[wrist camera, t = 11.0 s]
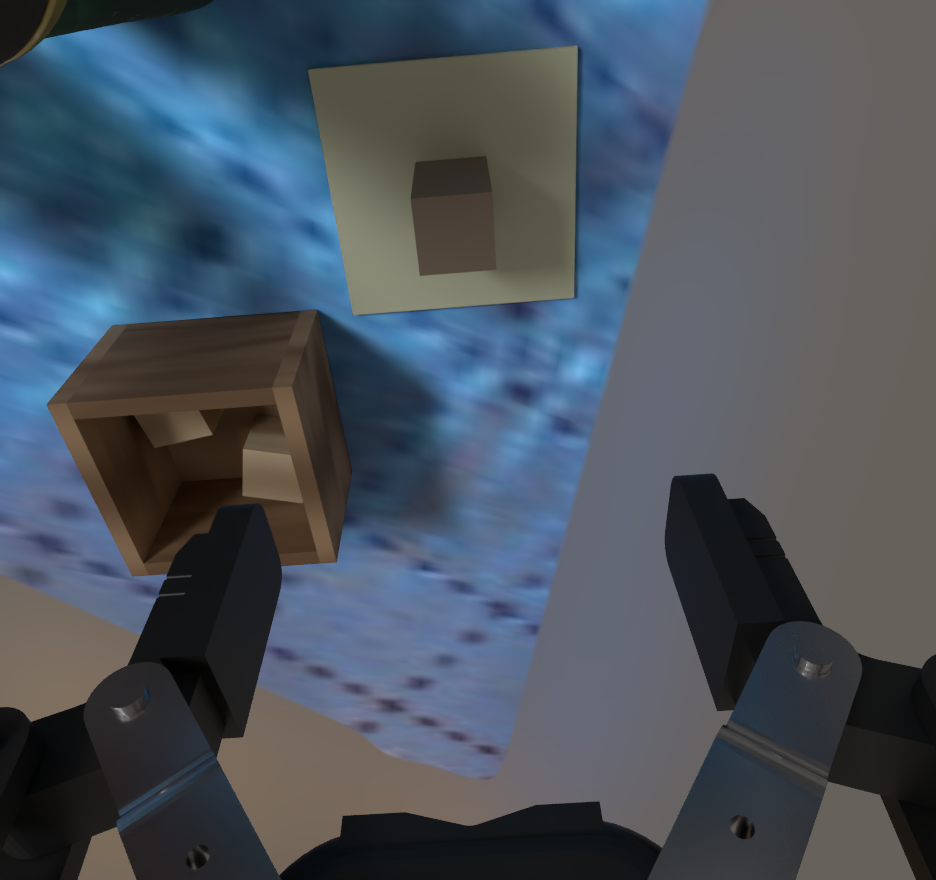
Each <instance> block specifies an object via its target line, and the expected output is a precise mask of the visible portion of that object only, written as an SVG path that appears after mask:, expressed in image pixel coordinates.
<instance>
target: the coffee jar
mask: <svg viewBox="0 0 936 880" xmlns="http://www.w3.org/2000/svg"><path fill="white" fill-rule="evenodd" d="M212 1H213V0H0V66H2V65H5V64H7V63H9V62H11V61H13V60H15V59H17V58H19V57H21V56H23V55H24V54H26V53H27V52H29V51H30V50H32V49H33V48H34V47H35V46H36V45H38V44H39V43H40V42H41V41H42V40H43V39H45V38H49V37H54V36H59V35H64V34H69V33H74V32H78V31H83V30H89V29H94V28H99V27H103V26H109V25H115V24H119V23H125V22H132V21H138V20H144V19H151V18H160V17H165V16H170V15H175V14H180V13H185V12H189V11H192V10H195V9H199V8H201V7H203V6H205V5H207V4H209V3H210V2H212Z"/></svg>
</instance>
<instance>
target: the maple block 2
mask: <svg viewBox="0 0 936 880" xmlns="http://www.w3.org/2000/svg"><path fill="white" fill-rule="evenodd" d="M242 496H248V497H256V498H264V499H272V500H280V501H288V502H296V503H303V499H302V495H301V492H300V488H299V484H298V481H297V477H296V473H295V470H294V466H293V462H292V459H291V455H290V451H289V448H288V444H287V440H286V437H285V433H284V429H283V426H282V422H281V419H280V417H273V416H266V415H259V414H256V416H255V419H254V422H253V424H252V427H251V429H250V432H249V435H248V437H247V440H246V442H245V445H244V448H243V493H242Z"/></svg>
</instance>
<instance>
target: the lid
mask: <svg viewBox="0 0 936 880" xmlns="http://www.w3.org/2000/svg"><path fill="white" fill-rule="evenodd" d="M577 62H578V46H577V45H575V46H564V47H552V48H541V49H530V50H518V51H507V52H495V53H484V54H472V55H461V56H449V57H438V58H426V59H415V60H403V61H392V62H380V63H369V64H358V65H346V66H335V67H323V68H312V69H308V74H309V79H310V84H311V90H312V95H313V101H314V106H315V112H316V117H317V122H318V128H319V133H320V139H321V144H322V149H323V155H324V160H325V166H326V171H327V176H328V182H329V187H330V193H331V198H332V203H333V209H334V214H335V220H336V225H337V230H338V236H339V241H340V247H341V252H342V258H343V263H344V268H345V274H346V279H347V285H348V290H349V295H350V301H351V306H352V312H353V315H363V314H376V313H388V312H401V311H414V310H427V309H439V308H452V307H465V306H478V305H490V304H503V303H516V302H528V301H541V300H554V299H567V298H574V268H575V199H576V131H577Z"/></svg>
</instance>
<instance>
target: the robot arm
mask: <svg viewBox="0 0 936 880" xmlns="http://www.w3.org/2000/svg"><path fill="white" fill-rule="evenodd" d="M665 550H666V557H667V562H668V565H669V568H670V571H671V574H672V577H673V580H674V583H675V586H676V589H677V592H678V595H679V598H680V601H681V604H682V607H683V610H684V613H685V616H686V619H687V622H688V625H689V628H690V631H691V634H692V637H693V640H694V643H695V646H696V649H697V652H698V655H699V658H700V661H701V664H702V667H703V670H704V673H705V676H706V679H707V682H708V684H709V688H710V691H711V694H712V697H713V700H714V703H715V706H716V709H717V711H725V710H733V712H732V715H731V717H730V719H729V721H728V723H727V724H726V726H725V725H723V726H722V727H721V728H720V730H719V732H718V733H717V735H716V737H715V739H714V741H713V743H712V745H711V748H710V750H709V752H708V754H707V756H706V758H705V760H704V762H703V764H702V767H701V769H700V771H699V773H698V775H697V777H696V779H695V781H694V783H693V785H692V787H691V790H690V791H689V794H688V796H687V798H686V800H685V802H684V804H683V806H682V808H681V810H680V813H679V815H678V817H677V819H676V821H675V823H674V825H673V827H672V829H671V831H670V833H669V835H668V837H667V839H666V842H665V844H664V846H663V848H661V847H660V846H659V845H657V844H656V843H654V842H652V841H651V840H649V839H648V838H646V837H645V836H642V835H641V834H639V833H637V832H635V831H633V830H630V829H628V828H625V827H622V826H620V825H617V824H614V823H609V822H605V821H603V820H602V815H601V808H600V803H599V802H582V803H565V804H548V805H535V806H532V807H529V808H526V809H523V810H520V811H517V812H514V813H511V814H508V815H505V816H502V817H499V818H496V819H493V820H490V821H487V822H484V823H481V824H478V825H474V826H466V825H465V826H464V825H460V824H456V823H451V822H446V821H442V820H438V819H433V818H428V817H424V816H419V815H415V814H410V813H386V814H370V815H352V816H343V818H342V826H341V835H340V837H337V838H334V839H331V840H329V841H327V842H325V843H323V844H321V845H319V846H317V847H315V848H313V849H312V850H310V851H309V852H307V853H306V854H304V855H303V856H301V857H300V858H299V859H297V860H296V861H295V862H294V863H292V864H291V865H290V866H289V867H287V868H286V869H285V871H283V872H282V873H281V874H280V875H279V874H278V873H277V871H276V869H275V867H274V865H273V863H272V861H271V860H270V858H269V856H268V854H267V852H266V850H265V848H264V847H263V845H262V843H261V841H260V839H259V837H258V835H257V833H256V831H255V830H254V828H253V826H252V824H251V822H250V820H249V818H248V816H247V815H246V813H245V811H244V809H243V807H242V805H241V803H240V801H239V800H238V798H237V796H236V794H235V792H234V791H233V788H232V787H231V785H230V783H229V781H228V779H227V777H226V775H225V773H224V772H223V770H222V768H221V766H220V764H219V762H218V760H217V754H218V751H219V747H220V743H221V740H222V738H238V737H243V735H244V731H245V727H246V724H247V720H248V716H249V712H250V708H251V704H252V700H253V696H254V692H255V688H256V684H257V680H258V676H259V672H260V668H261V664H262V660H263V656H264V652H265V648H266V644H267V640H268V636H269V633H270V629H271V625H272V621H273V617H274V613H275V609H276V605H277V601H278V597H279V593H280V589H281V581H282V569H281V561H280V557H279V554H278V551H277V547H276V544H275V541H274V538H273V535H272V532H271V529H270V526H269V523H268V520H267V517H266V514H265V511H264V508H263V507H262V505H261V504H259V503H257V504H242V505H228V506H221V507H220V508H219V509H218V510H217V512H216V515H215V517H214V520H213V523H212V525H211V528H210V530H209V533H201V534H194V535H193V536H192V537H191V538H190V539H189V540H188V542H187V543H186V544H185V545H184V546H183V547H182V548H181V549H180V550H179V551H178V552H177V553H176V555H175V557H174V559H173V562H172V564H171V566H170V569H169V571H168V573H167V580H164V583H163V585H162V587H161V590H160V592H159V598H157V599H156V601H155V603H154V606H153V608H152V610H151V613H150V615H149V617H148V620H147V622H146V624H145V627H144V629H143V631H142V634H141V636H140V638H139V641H138V643H137V645H136V648H135V650H134V652H133V655H132V657H131V659H130V662H129V663H128V665H127V666H126V667H123V668H121V669H119V670H117V671H116V672H114V673H112V674H111V675H109V676H108V677H107V678H106V679H104V680H103V681H102V682H101V683H100V684H99V685H98V686H97V687H96V688H95V689H94V691H93V692H92V693H91V695H90V697H89V698H88V700H87V702H86V703H84V704H82V705H79V706H77V707H74V708H71V709H68V710H65V711H62V712H59V713H56V714H53V715H50V716H47V717H44V718H41V719H38V720H36V721H33V722H30V720H29V719H28V718H27V717H26V715H25V714H24V713H23V712H22V711H20V710H18V709H15V708H10V707H0V880H77V879H78V876H79V873H80V870H81V867H82V864H83V861H84V858H85V855H86V852H87V849H88V846H89V843H90V840H91V837H92V836H94V835H97V834H99V833H102V832H104V831H107V830H110V829H112V828H115V827H117V828H118V832H119V834H120V837H121V840H122V842H123V845H124V848H125V850H126V853H127V856H128V859H129V861H130V864H131V867H132V869H133V872H134V875H135V877H136V880H796V877H797V874H798V870H799V868H800V864H801V862H802V859H803V856H804V853H805V850H806V847H807V843H808V841H809V837H810V835H811V832H812V829H813V826H814V823H815V820H816V817H817V814H818V811H819V808H820V805H821V802H822V799H823V796H824V793H825V790H826V786H827V783H828V782H832V783H836V784H840V785H844V786H848V787H851V788H855V789H859V790H864V791H867V792H871V793H875V794H879V795H880V796H881V798H882V800H883V803H884V805H885V807H886V810H887V812H888V815H889V817H890V820H891V821H892V824H893V827H894V829H895V831H896V834H897V836H898V838H899V840H900V843H901V845H902V848H903V850H904V852H905V855H906V857H907V859H908V862H909V864H910V867H911V869H912V871H913V874H914V876H915V878H916V880H936V655H934V656H932V657H930V658H929V659H928V660H927V661H926V662H925V664H924V665H923V667H922V669H920V668H915V667H911V666H906V665H901V664H896V663H891V662H887V661H882V660H877V659H873V658H870V657H867V656H864V655H861V654H859V653H857V652H856V650H855V649H854V647H853V646H852V645H851V644H850V643H849V642H848V641H847V640H846V639H845V638H844V637H842V636H841V635H840V634H838V633H837V632H835V631H833V630H831V629H829V628H827V627H825V626H823V625H822V623H821V622H820V620H819V618H818V616H817V614H816V612H815V610H814V608H813V607H812V605H811V603H810V601H809V599H808V597H807V595H806V593H805V591H804V589H803V587H802V586H801V584H800V582H799V580H798V578H797V576H796V574H795V572H794V570H793V568H792V567H791V565H790V563H789V561H788V559H786V558H785V553H784V551H783V549H782V548H781V545H780V543H779V542H778V541H776V536H775V534H774V532H773V530H772V528H771V527H770V525H769V522H768V521H767V519H766V517H765V515H763V514H762V513H761V512H760V511H759V510H758V509H756V508H755V507H754V506H753V505H752V504H751V503H749V502H748V501H747V500H746V499H745V498H739V499H727V497H726V495H725V493H724V491H723V489H722V487H721V485H720V483H719V481H718V479H717V477H716V476H715V475H714V474H698V475H685V476H684V475H683V476H674V477H673V479H672V482H671V489H670V497H669V505H668V513H667V521H666V529H665Z"/></svg>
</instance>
